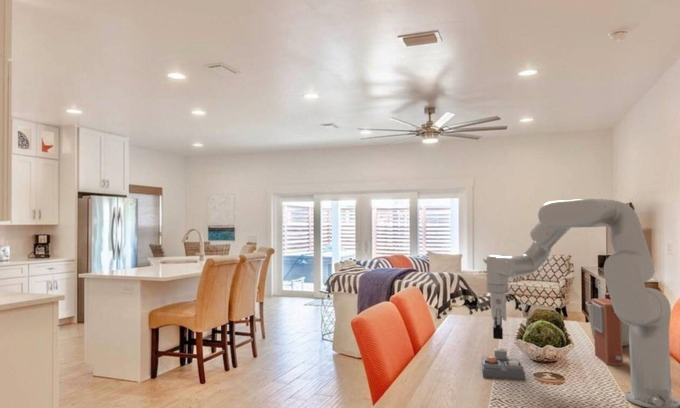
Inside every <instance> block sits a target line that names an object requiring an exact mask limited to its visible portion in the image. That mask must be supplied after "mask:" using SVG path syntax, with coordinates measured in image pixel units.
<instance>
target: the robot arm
mask: <svg viewBox="0 0 680 408" xmlns="http://www.w3.org/2000/svg"><path fill="white" fill-rule="evenodd" d="M537 213H538V214H537V216H538V217H537V218H538V223H536V225H535V226H534V227H533V228H532V229H531V230H530V234H529V235H530V238H531V240H532V241H533V242H532V244H531V245H530V246H529V247H528V249H527V250H526V251H525V252H524V253H523V254H517V255H509V256H508V255H507V256H506V255H504V254H489V255H488V256H487V257H486V260H485V261H486V293H488V294H489V295H490V296H489V298H490V300H489V301H490V312H491V319H492V320H493V327H492V329H493V330H492V335H493V337H492V338H493V340H494V339H495V340H503V338H504V336H503V334H504V333H503V331H504V329H503V321H504V322H506V321H507V299H506V298H507V296H506V295H507V294H509V278H518V277H524V276H526V277H527V276H530V275H532V274H534V273H535V272H536V271H537V270H538V269H540V267H541V266H542V265H544V263H545V262H546V261H547V260H548V258H549V256H550V253H551V251H552V248H553V247H554V246H555V245H557V243H558V241H559V240H560V239H561V238H562V237H564V235H565V234H566V233H567V232H569V230H570V229H571V228H572V229H573V228H600V227H602V228H603V227H604V228H605V227H607V228H609V230H610V233H609V234H610V242H611V246H612V248H613V253H612V254H610V255H609V256H608V257H607V258H606V259H605V261H604V264H603V276H604V279H605V284H606V287H607V291H608V293H609V295H610V298H611V302H612V305H613V308H614V311H615V313H616V315H617V316H618V318H619V319H620V320H621V321H622V322H624V323H625V324H627V325H630V328H629V344H628V345H629V349H628V350H629V365H630V367H629V370H630V389H629V390H626V391H625V394H624V395H625V399H626V400H627V401H629V402H630V403H632V404H635V405H638V406H640V407H645V408H679V407H680V402H679V400H678V399H677V398H676V397H675V396H672V394H673V393H672V380H671V379H672V378H671V377H672V375H671V353H670V352H671V351H670V323H671V315H672V314H671V310H672V309H671V304H670V301H669V299H668V297H667V296H666V295H665V294H664V293H663V292H661V291H660V290H659V289H656V288H652V287H646V285H645V283H646V282H649V281H650V280H651V279H653V277H654V275H655V265H654V263H653V259H652V255H651V253H650V250H649V246H648V243H647V240H646V238H645V235H644V231H643V229H642V228H643V227H642V225H641V222H640V221H641V220H640V219H639V216H638V214H637V212H636V211H635V210H634V209H633V208H632V207H631V206H630V205H628V204H627V203H625V202H622V201H619V200H615V199H614V200H613V199H606V198H605V199H604V198H581V199H580V198H579V199H569V200H568V199H566V200H552V201H551V200H550V201H548V202H546V203H544V204H542V205H541V206H540V208H539V210H538V212H537Z"/></svg>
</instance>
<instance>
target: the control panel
mask: <svg viewBox="0 0 680 408" xmlns="http://www.w3.org/2000/svg"><path fill="white" fill-rule="evenodd" d="M592 299H593V303H592V314H593V328H594V337H595V340H594V355H595V356H596V357H597V358H599V360H601V361H602V362H604V364H606V365H611V366H612V365H614V366H623V365H624V359H623V346H622V329H621V325H622V321H621V320H620V319H619V318H618V316H617V315H616V313H615V311H614V308H613V305H612V302H611V300H609V299H597V298H592Z"/></svg>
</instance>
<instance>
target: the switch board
mask: <svg viewBox="0 0 680 408" xmlns="http://www.w3.org/2000/svg"><path fill="white" fill-rule="evenodd" d="M491 356H495V354H492V355H491ZM496 360H497V362H496V363H489V362H487V356H481V369H482V370H481V371H482V377H484V378H495V379H496V378H497V379H511V380H523V381H524V380H525V379H526V374H525V373H526V371H525V370H524V365H523V363H522V361H521V359H520V358H510V356H509V355H507V360H501V359H496ZM510 360H514V361H518V362H519V366H517V365H509V363H508V361H510Z"/></svg>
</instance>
